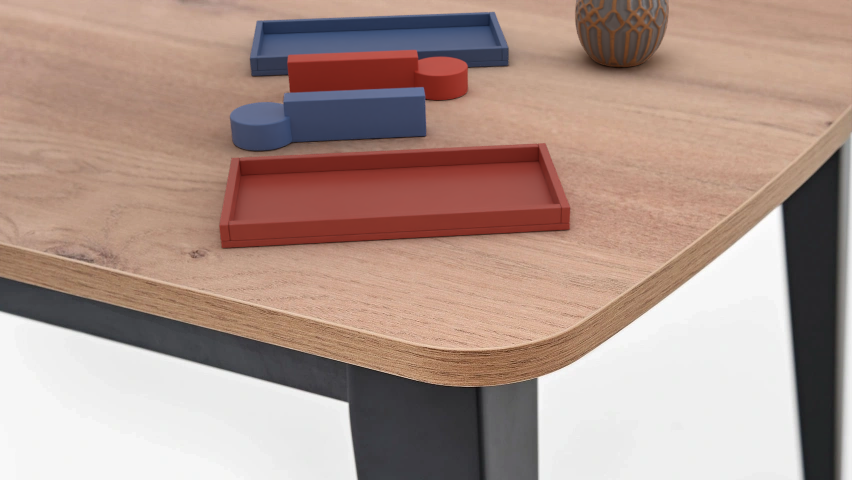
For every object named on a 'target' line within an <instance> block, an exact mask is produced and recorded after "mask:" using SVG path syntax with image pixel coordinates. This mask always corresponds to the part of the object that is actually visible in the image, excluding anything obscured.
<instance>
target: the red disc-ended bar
mask: <svg viewBox="0 0 852 480" xmlns="http://www.w3.org/2000/svg"><path fill="white" fill-rule="evenodd" d="M287 65H288V75H287V76H288V87H289V93H297V92H320V91H344V90H368V89H391V88H415V87H424V92H425V100H430V101H447V100H454V99H458V98H460V97H462V96H465V95H466V94H467V93H468V91H469V69H468V68H469V67H468V65H467V64H466V62H464V61H462V60H460V59H456V58H451V57H430V58H424V59H421V60H418V54H417V50H399V51H374V52H349V53H324V54H299V55H288V61H287Z"/></svg>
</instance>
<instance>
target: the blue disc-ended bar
mask: <svg viewBox="0 0 852 480" xmlns="http://www.w3.org/2000/svg"><path fill="white" fill-rule="evenodd" d="M426 105H427V104H426V99H425V92H424V87H415V88H391V89H368V90H344V91H320V92H297V93H290V92H284V93H283V101H282V103H280V102H273V101H260V102H259V101H258V102H252V103H247V104H243V105H241V106H238V107H235V108H234V109H233V110H232V111H231V112H230V114H229V121H230V132H231V140H232V143H233V144H234V146H236V147H237V148H240V149H243V150H246V151H252V152H255V151H256V152H265V151H272V150H277V149H281V148H283V147H286V146H288V145H290V144H291V143H303V142H323V141H325V142H327V141H345V140H368V139H369V140H370V139H389V138H391V139H393V138H412V137H413V138H414V137H426V136H427V111H426V109H427V107H426Z"/></svg>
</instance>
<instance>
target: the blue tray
mask: <svg viewBox="0 0 852 480" xmlns="http://www.w3.org/2000/svg"><path fill="white" fill-rule="evenodd" d="M399 50H417V54H418V60H421V59H424V58H430V57H451V58H456V59H460V60H462V61H464V62H466V64H467V65H468V68H479V67H504V66H509V65H510V64H509V62H510V61H509V59H510V54H509V53H510V49H509V45H508V43H507V40H506V37H505V34H504V32H503V29H502V28H501V23H500V22H499V20H498V17H497V14H496V11H480V12H479V11H478V12H477V11H476V12H475V11H474V12H452V13H451V12H450V13H425V14H399V15H398V14H395V15H373V16H372V15H371V16H370V15H369V16H368V15H367V16H345V17H343V16H341V17H318V18H317V17H316V18H291V19H266V20H265V19H264V20H262V19H261V20H256V23H255V27H254V33H253V39H252V44H251V49H250V56H249V64H250V73H251V77H260V76H261V77H263V76H286V75H287V76H288V65H287V61H288V55H299V54H324V53H349V52H374V51H399Z"/></svg>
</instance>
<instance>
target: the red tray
mask: <svg viewBox="0 0 852 480" xmlns="http://www.w3.org/2000/svg"><path fill="white" fill-rule="evenodd" d="M570 227H571V206H570V203H569V200H568V198H567V196H566V193H565V189H564V187H563V185H562V182H561V180H560V178H559V175H558V172H557V170H556V166H555V164H554V161H553V159H552V156H551V154H550V151H549V149H548V146H547V143H546V142H540V143H539V142H538V143H519V144H516V143H515V144H496V145H495V144H494V145H476V146H453V147H434V148H430V147H429V148H410V149H390V150H389V149H388V150H387V149H386V150H371V151H370V150H369V151H368V150H367V151H348V152H325V153H310V154H309V153H305V154H303V153H301V154H284V155H283V154H282V155H281V154H280V155H261V156H240V157H231V159H230V164H229V169H228V175H227V181H226V186H225V191H224V198H223V201H222V208H221V213H220V218H219V223H218V228H219V229H218V230H219V235H220V236H219V237H220V245H221V248H222V249H224V248H225V249H227V248H228V249H229V248H247V247H248V248H249V247H266V246H283V245H284V246H285V245H305V244H321V243H342V242H359V241H360V242H361V241H362V242H363V241H377V240H379V241H380V240H395V239H397V240H398V239H415V238H416V239H417V238H434V237H452V236H453V237H454V236H470V235H489V234H491V235H492V234H507V233H508V234H509V233H528V232H546V231H547V232H548V231H566V230H570Z"/></svg>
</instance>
